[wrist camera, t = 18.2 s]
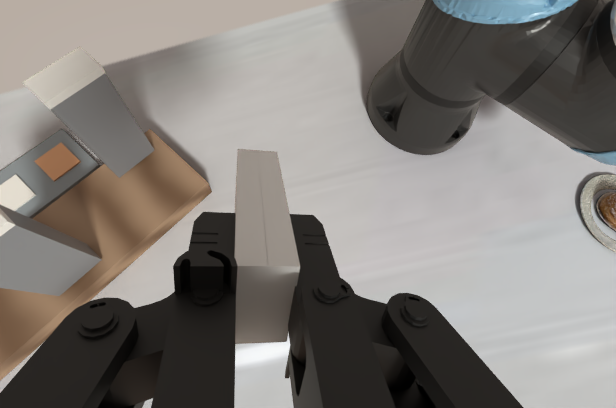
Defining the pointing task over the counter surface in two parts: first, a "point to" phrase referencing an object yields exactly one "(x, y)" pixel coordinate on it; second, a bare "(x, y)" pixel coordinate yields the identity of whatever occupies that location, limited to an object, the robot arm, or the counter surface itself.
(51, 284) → the key middle
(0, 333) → the brown wooden board
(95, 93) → the key inner
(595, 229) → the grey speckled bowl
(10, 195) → the pattern card
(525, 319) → the counter surface
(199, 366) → the robot arm
